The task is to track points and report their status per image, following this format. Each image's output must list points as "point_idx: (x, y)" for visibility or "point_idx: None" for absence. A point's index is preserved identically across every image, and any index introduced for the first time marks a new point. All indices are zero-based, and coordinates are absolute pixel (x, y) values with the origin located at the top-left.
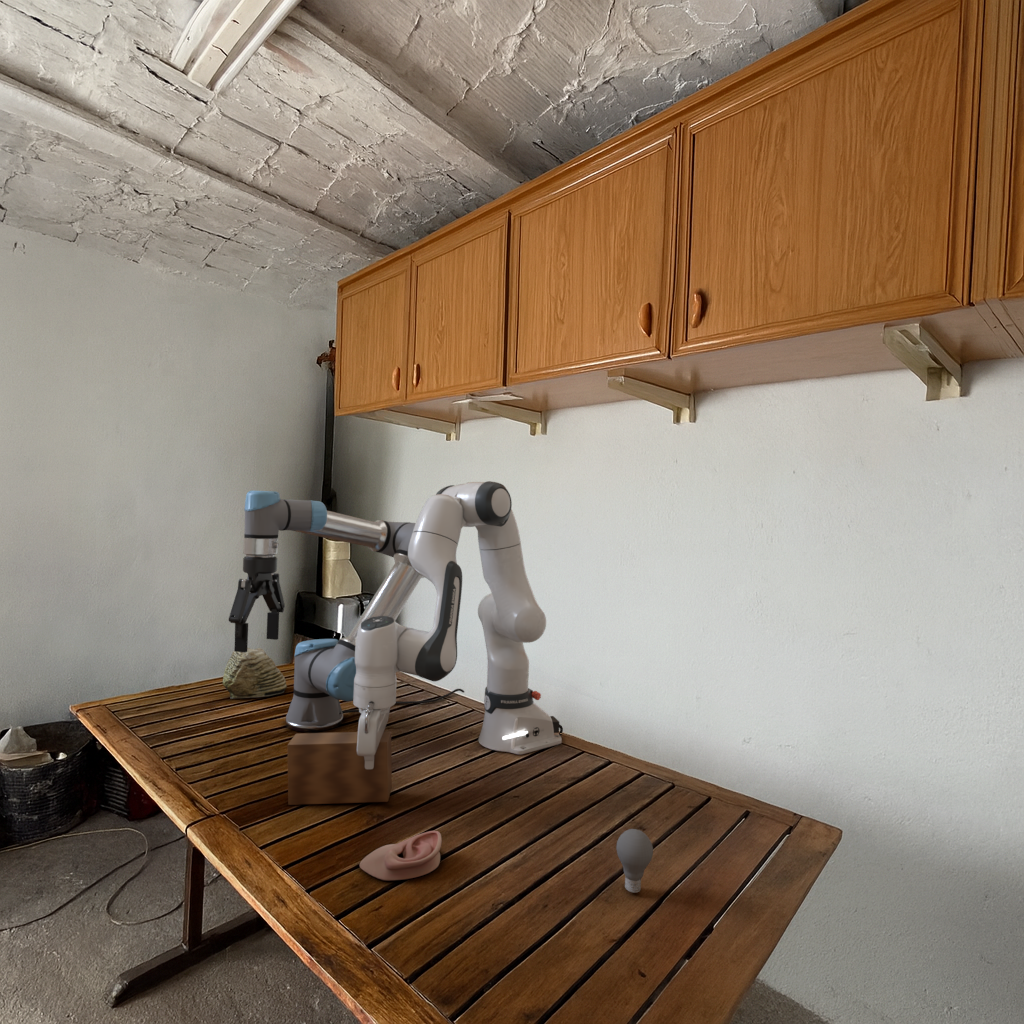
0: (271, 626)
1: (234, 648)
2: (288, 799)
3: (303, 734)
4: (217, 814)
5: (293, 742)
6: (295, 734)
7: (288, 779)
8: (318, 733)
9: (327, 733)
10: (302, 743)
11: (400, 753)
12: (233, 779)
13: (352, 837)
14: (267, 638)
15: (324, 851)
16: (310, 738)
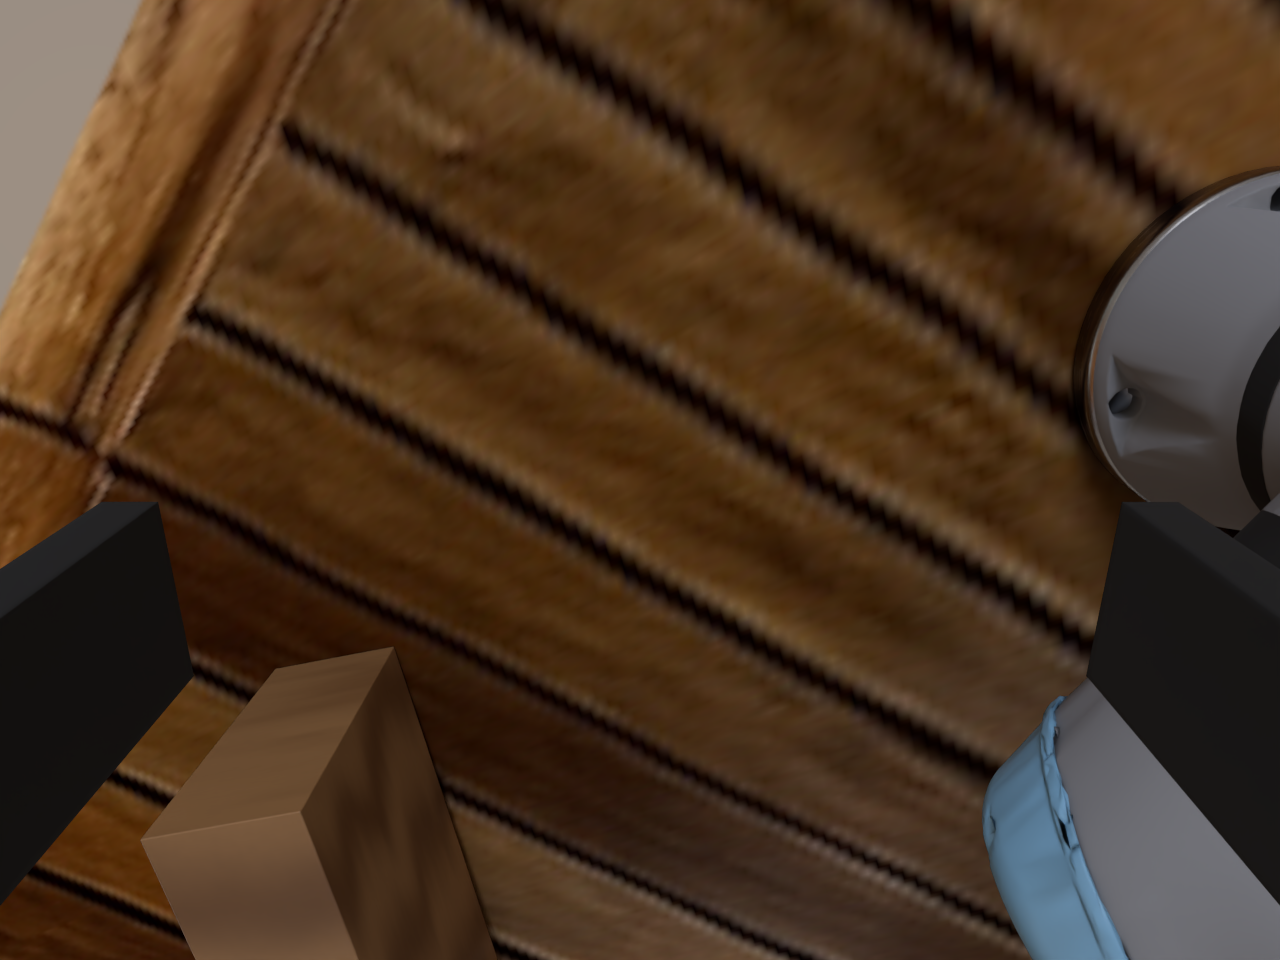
0: (1253, 722)
1: (72, 521)
2: (267, 681)
3: (296, 854)
4: (93, 454)
5: (177, 854)
6: (286, 814)
7: (229, 730)
8: (330, 918)
9: (343, 958)
10: (181, 899)
11: (866, 877)
12: (400, 326)
13: (169, 931)
14: (1122, 523)
15: (61, 891)
16: (253, 909)
